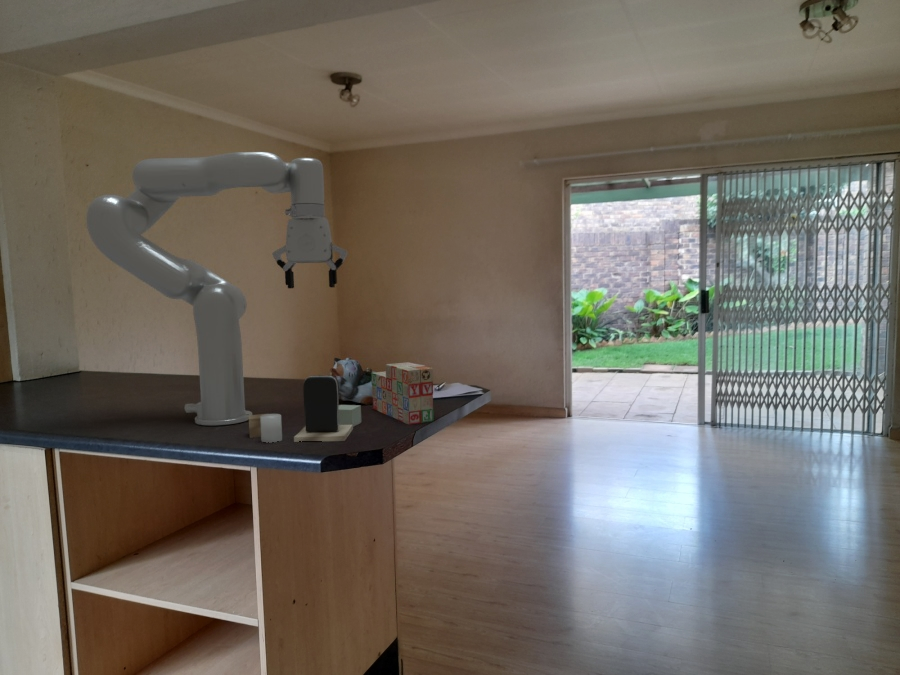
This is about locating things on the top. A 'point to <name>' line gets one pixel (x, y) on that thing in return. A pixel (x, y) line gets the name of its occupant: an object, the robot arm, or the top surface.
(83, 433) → the top surface
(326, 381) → the battery
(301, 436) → the birch coaster
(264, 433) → the grey rounded block
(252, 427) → the oak block
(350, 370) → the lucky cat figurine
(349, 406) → the sage block
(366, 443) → the top surface
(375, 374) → the stack of blocks
